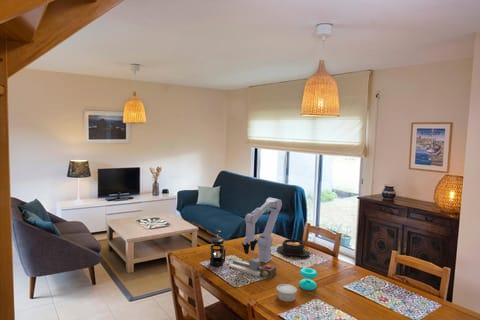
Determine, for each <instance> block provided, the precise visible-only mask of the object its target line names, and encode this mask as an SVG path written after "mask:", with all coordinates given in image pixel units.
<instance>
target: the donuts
mask: <svg viewBox="0 0 480 320" xmlns="http://www.w3.org/2000/svg"><path fill="white" fill-rule="evenodd" d="M299 274H300V276H301V277H303V279H301V280H300V281H299V282H298V285H299V287H300V288H301V289H303V290H306V291H315V290H316V289H317V287H318V286H317V283H316V282H315V281H314V280H312V279H315V278H317V277H318V272H317V270H316V269H313V268H311V267H303V268H301V269H300V270H299Z"/></svg>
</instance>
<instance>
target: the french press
mask: <svg viewBox="0 0 480 320" xmlns="http://www.w3.org/2000/svg"><path fill="white" fill-rule="evenodd" d="M214 232H215V233H216V235H217V237H212V238H210V242H211V244H212V245H210V258H209V266H211V267H214V268H220V267H219V266H221V267H222V265H223V264H224V263H225V262H226V250H227V249H226V248H225V246H224V245H223V244H224V242H225V239H224V238H223V237H219V233H221V232H222V230H220V229H216V230H214ZM214 247H216V248H214ZM218 247H219V248H218ZM223 266H224V265H223Z"/></svg>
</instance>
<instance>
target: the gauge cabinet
mask: <svg viewBox="0 0 480 320" xmlns="http://www.w3.org/2000/svg"><path fill="white" fill-rule="evenodd" d="M265 265H269V264H267V263H265V264H264V265H263V266H260V267H261V268H260V276H259V277H261V278H265V279H269V280H271V279H272V278H274V277H275V276H276V275H277V266H275V265H271V266H272V268H270V269H268V268H266V267H265Z"/></svg>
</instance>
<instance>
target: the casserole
mask: <svg viewBox="0 0 480 320" xmlns="http://www.w3.org/2000/svg"><path fill="white" fill-rule="evenodd" d="M305 248H306V246H305V244H304V242H303V241H302V240H299V239H295V238H294V239H292V238H291V239H290V238H289V239H284V240H283V241H282V244H281V245H279V246H277V247H276V249H277V250H276V251H279V252H281V253H283V254H286V255H288V256H293V257H297V256H298V257H307V256H309V255H310V253H311V252H310V251H308V250H305Z"/></svg>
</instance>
